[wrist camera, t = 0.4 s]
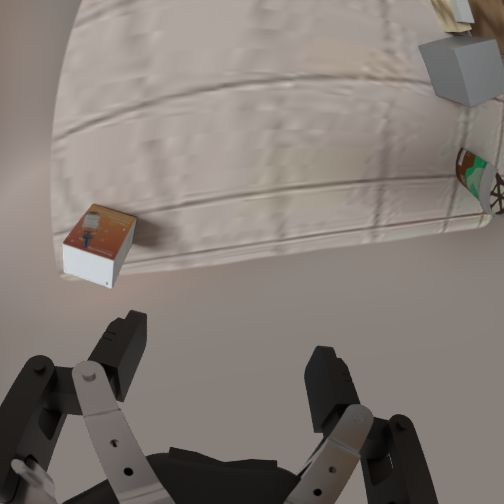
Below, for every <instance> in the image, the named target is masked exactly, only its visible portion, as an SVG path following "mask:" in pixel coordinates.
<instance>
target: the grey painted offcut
mask: <svg viewBox="0 0 504 504" xmlns="http://www.w3.org/2000/svg"><path fill="white" fill-rule="evenodd" d="M449 2H450V5H451V8H452V11H453V14H454V17H455V20H456V22H465V23H474V19H473V16H472V12H471V9H470V6H469V3H468V0H449Z"/></svg>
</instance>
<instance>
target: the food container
mask: <svg viewBox="0 0 504 504" xmlns="http://www.w3.org/2000/svg"><path fill="white" fill-rule="evenodd" d="M497 171H498V169H497V168H495V167H494V166H493V165H492V164H490V163H489V162H488V163H487V162H486V161H484V160H482V159H481V158H479V157H477V156H476V155H474V154H472V153H471V152H469V151H467V150H465V149H463V148H462V147H461V149H460V151H459V153H458V157H457V160H456V174H457V177H458V179H459V181H460V182H461V183H462V184H463V185H464V186H465V187H466V188H467V189H468V190H469V191H470V192H471V193H472V194H473V195H474V196H475V197H476V198H477V199H478V200H479V201H480V204H481V207H482V209H483V210H484V211H485V212H486V213H488V214H490V215H492V216H494V217H498V218H503V217H504V181H503V180H502V178H501V177H500V176H499V174H498V173H497Z"/></svg>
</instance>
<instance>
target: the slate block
mask: <svg viewBox="0 0 504 504" xmlns="http://www.w3.org/2000/svg"><path fill="white" fill-rule="evenodd" d="M418 47H419V49H420V52H421V54H422V57H423V59H424V62H425V65H426V67H427V70H428V73H429V76H430V78H431V81H432V84H433V87H434V90H435V94H436V95H437V96H440V97H443V98H446V99H449V100H452V101H455V102H458V103H460V104H463V105H466V106H468V107H473V106H475V105H478V104H480V103H482V102H485V101H487V100H489V99H492V98H494V97H496V96H499V95H501V94H504V66H503V62H502V58H501V55H500V51H499V48H498V44H497V41H496V39H492V38H484V37H476V36H466V35H458V36H454V37H449V38H445V39H441V40H438V41H434V42H430V43H427V44H423V45H420V46H418Z"/></svg>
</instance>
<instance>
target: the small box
mask: <svg viewBox="0 0 504 504" xmlns="http://www.w3.org/2000/svg"><path fill="white" fill-rule="evenodd" d="M136 220H137V218H136V217H133V216H130V215H126V214H123V213H120V212H116V211H113V210H110V209H107V208H104V207H101V206H98V205H95V204H92V205H91V207H90V208H89V209H88V210H87V211H86V213H85V214H84V215H83V217H82V218H81V219H80V220H79V222H78V223H77V224H76V226H75V227H74V228H73V230H72V231H71V232H70V234H69V235H68V236H67V238H66V239H65V241H64V242H63V262H64V273H67V274H71V275H74V276H77V277H80V278H82V279H85V280H88V281H91V282H94V283H97V284H100V285H103V286H106V287H108V288H110V289H112V288H113V286H114V284H115V281H116V279H117V277H118V274H119V272H120V269H121V267H122V265H123V263H124V260H125V258H126V256H127V254H128V252H129V250H130V248H131V246H132V241H133V235H134V230H135V225H136Z"/></svg>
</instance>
